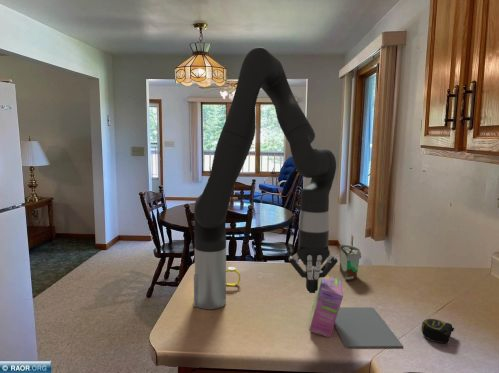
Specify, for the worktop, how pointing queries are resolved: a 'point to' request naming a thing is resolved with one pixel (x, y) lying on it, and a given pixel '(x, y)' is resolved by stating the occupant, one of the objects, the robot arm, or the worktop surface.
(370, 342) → the mat
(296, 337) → the worktop surface
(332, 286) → the box
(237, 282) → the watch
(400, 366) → the worktop surface
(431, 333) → the tape measure
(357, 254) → the food container
